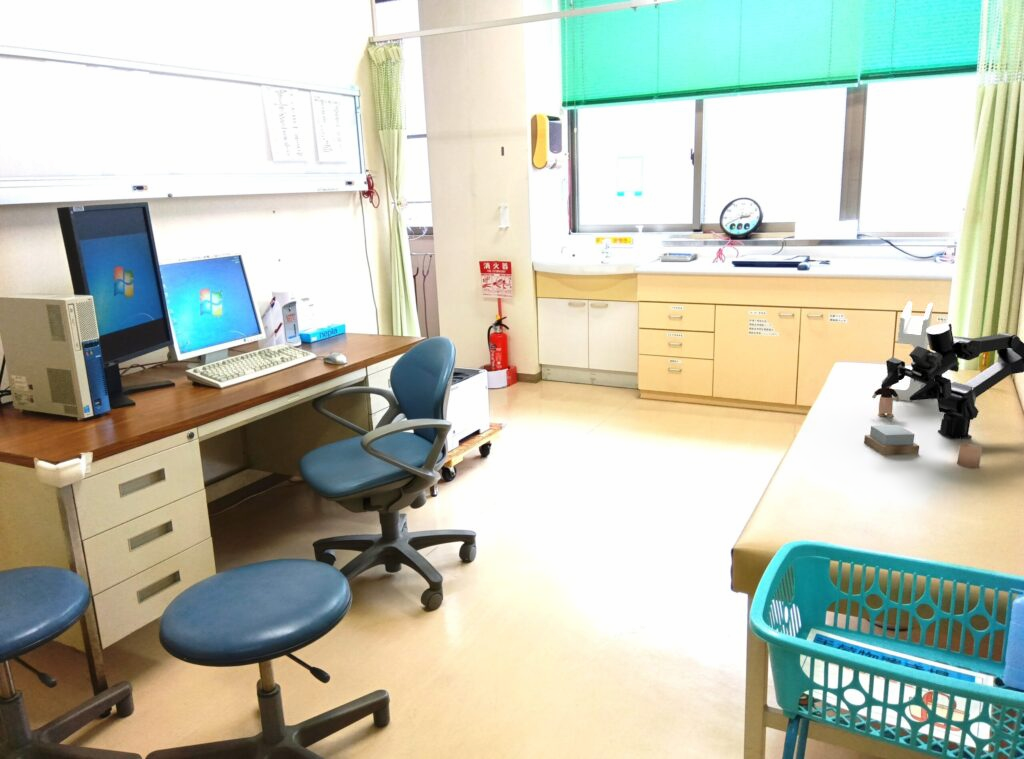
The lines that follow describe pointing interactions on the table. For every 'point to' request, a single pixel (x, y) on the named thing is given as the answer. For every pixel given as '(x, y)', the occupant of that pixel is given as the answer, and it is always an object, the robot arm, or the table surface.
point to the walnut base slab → (891, 447)
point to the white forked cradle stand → (915, 335)
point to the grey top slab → (892, 435)
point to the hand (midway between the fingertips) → (895, 392)
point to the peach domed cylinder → (969, 456)
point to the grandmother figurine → (886, 400)
